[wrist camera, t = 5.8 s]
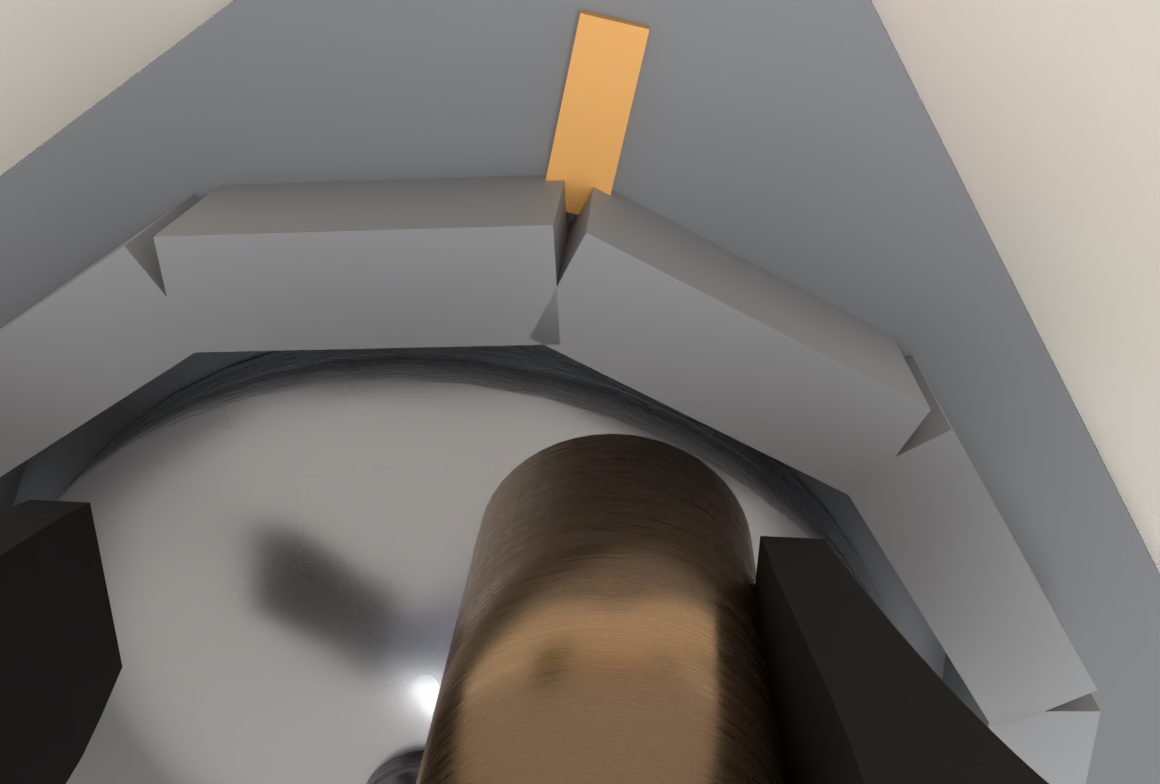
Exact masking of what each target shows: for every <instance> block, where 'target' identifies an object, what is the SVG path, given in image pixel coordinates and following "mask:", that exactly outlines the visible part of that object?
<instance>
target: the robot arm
mask: <svg viewBox="0 0 1160 784" xmlns="http://www.w3.org/2000/svg"><path fill="white" fill-rule="evenodd" d="M755 587H756V594H757V601H758V607H759V614H760V621H761V628H762V634H763V641H764V648H765V654H766V659H767V664H768V669H769V674H770V679H771V684H772V689H773V695H774V700H775V705H776V710H777V715H778V721H779V727H780V733H781V739H782V745H783V751H784V758H785V764H786V770H787V776H788V782H789V784H1049V783H1048V782H1047V781H1045V780H1044V779H1043V778H1042V777H1041V776H1039V775H1038V774H1037V773H1036V772H1035V771H1034V770H1033V769H1032V768H1031V767H1029V766H1028V765H1027V764H1026V763H1025V762H1024V761H1023V760H1022V759H1021V758H1020V757H1018V756H1017V755H1016V754H1015V753H1014V752H1013V751H1012V750H1011V749H1010V748H1009V747H1008V746H1007V745H1006V744H1005V743H1004V742H1003V741H1002V740H1001V739H1000V738H999V737H997V736H996V735H995V734H994V733H993V732H992V731H991V730H990V729H989V728H988V727H987V726H986V725H985V724H984V723H983V722H982V721H981V720H980V719H979V718H978V717H977V716H976V715H975V714H974V713H973V712H972V711H971V710H970V709H969V708H968V707H967V706H966V705H965V704H964V703H963V702H962V701H961V700H960V699H959V698H958V697H957V695H956V694H955V693H954V692H953V691H952V690H951V689H950V688H949V687H948V686H947V685H946V684H945V683H944V681H943V680H942V679H941V678H940V677H939V676H938V675H937V674H936V672H935V671H934V670H933V669H932V668H931V667H930V666H929V665H928V664H927V662H926V661H925V660H924V659H923V658H922V657H921V656H920V655H919V653H918V652H917V651H916V650H915V649H914V648H913V647H912V646H911V644H910V643H909V642H908V641H907V640H906V639H905V638H904V636H903V635H902V634H901V633H900V632H899V630H898V629H897V628H896V627H895V626H894V625H893V623H892V622H891V621H890V620H889V619H888V617H887V616H886V615H885V614H884V612H883V611H882V610H881V609H880V608H879V606H878V605H877V604H876V603H875V601H874V600H873V599H872V598H871V597H870V595H869V594H868V593H867V592H866V590H865V589H864V588H863V587H862V585H861V584H860V583H859V582H858V580H857V579H856V578H855V576H854V575H853V574H852V573H851V571H850V570H849V569H848V568H847V566H846V565H845V564H844V563H843V561H842V560H841V559H840V557H839V556H838V555H837V554H836V553H835V551H834V550H833V549H832V548H831V547H830V546H829V544H828V543H827V542H826V541H825V540H824V539H814V538H794V537H773V536H760V544H759V553H758V562H757V571H756V580H755ZM121 669H122V662H121V657H120V652H119V647H118V642H117V636H116V631H115V626H114V621H113V616H112V611H111V606H110V601H109V596H108V591H107V586H106V581H105V576H104V571H103V565H102V560H101V555H100V550H99V545H98V540H97V535H96V530H95V525H94V520H93V515H92V510H91V505H90V503H89V502H69V501H48V500H28V501H26V502H23V503H21V504H18V505H16V506H13V507H10V508H8V509H6V510H3V511H1V512H0V784H66V783H67V781H68V779H69V778H70V776H71V774H72V773H73V771H74V769H75V768H76V766H77V764H78V763H79V761H80V759H81V758H82V756H83V754H84V752H85V750H86V748H87V745H88V743H89V741H90V739H91V737H92V735H93V733H94V731H95V729H96V726H97V724H98V722H99V720H100V718H101V716H102V714H103V711H104V709H105V707H106V704H107V702H108V700H109V697H110V695H111V692H112V690H113V688H114V685H115V683H116V681H117V678H118V676H119V674H120V671H121Z"/></svg>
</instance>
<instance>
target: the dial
mask: <svg viewBox="0 0 1160 784" xmlns="http://www.w3.org/2000/svg"><path fill="white" fill-rule="evenodd" d="M55 501H69V502H89V503H90V505H91V510H92V515H93V520H94V525H95V530H96V535H97V540H98V545H99V550H100V555H101V560H102V565H103V571H104V576H105V581H106V586H107V591H108V596H109V601H110V606H111V611H112V616H113V621H114V626H115V631H116V636H117V642H118V647H119V652H120V657H121V662H122V669H121V671H120V674H119V676H118V678H117V681H116V683H115V685H114V688H113V690H112V692H111V695H110V697H109V700H108V702H107V704H106V707H105V709H104V711H103V714H102V716H101V718H100V720H99V722H98V724H97V726H96V729H95V731H94V733H93V735H92V737H91V739H90V741H89V743H88V745H87V748H86V750H85V752H84V754H83V756H82V758H81V759H80V761H79V763H78V764H77V766H76V768H75V769H74V771H73V773H72V774H71V776H70V778H69V779H68V781H67V783H66V784H789V782H788V776H787V770H786V764H785V758H784V751H783V745H782V739H781V733H780V727H779V721H778V715H777V710H776V705H775V700H774V695H773V689H772V684H771V679H770V674H769V669H768V664H767V659H766V654H765V648H764V641H763V634H762V628H761V621H760V614H759V607H758V601H757V594H756V587H755V580H756V571H757V562H758V553H759V544H760V536H773V537H794V538H814V539H824V540H825V541H826V542H827V543H828V544H829V546H830V547H831V548H832V549H833V550H834V551H835V553H836V554H837V555H838V556H839V557H840V559H841V560H842V561H843V563H844V564H845V565H846V566H847V568H848V569H849V570H850V571H851V573H852V574H853V575H854V576H855V578H856V579H857V580H858V582H859V583H860V584H861V585H862V587H863V588H864V589H865V590H866V592H867V593H868V594H869V595H870V597H871V598H872V599H873V600H874V601H875V603H876V604H877V605H878V606H879V608H880V609H881V610H882V611H883V612H884V614H885V610H884V607H883V604H882V602H881V600H880V598H879V596H878V594H877V592H876V590H875V588H874V586H873V584H872V582H871V580H870V578H869V576H868V574H867V572H866V570H865V568H864V566H863V564H862V562H861V560H860V558H859V556H858V555H857V553H856V552H855V550H854V549H853V548H852V546H851V545H850V543H849V542H848V540H847V539H846V538H845V536H844V535H843V533H842V532H841V531H840V529H839V528H838V526H837V525H836V524H835V522H834V521H833V519H832V518H831V516H830V515H829V514H828V512H827V511H826V510H825V509H824V508H823V507H822V506H821V505H820V504H819V502H818V501H817V500H816V499H815V498H814V497H813V496H812V495H811V494H810V493H809V492H808V491H807V490H806V489H805V488H804V487H803V486H802V485H801V484H800V483H799V482H798V480H797V479H796V478H795V477H794V476H793V475H792V474H791V473H790V472H789V471H788V470H787V469H786V468H785V467H784V466H782V465H781V464H780V463H779V462H777V461H776V460H775V459H774V458H772V457H770V456H768V455H766V454H764V453H762V452H760V451H758V450H756V449H754V448H752V447H750V446H748V445H746V444H744V443H742V442H740V441H738V440H736V439H734V438H732V437H730V436H728V435H726V434H724V433H722V432H720V431H718V430H716V429H714V428H712V427H710V426H708V425H706V424H704V423H701V422H699V421H697V420H695V419H693V418H691V417H689V416H687V415H685V414H683V413H681V412H679V411H677V410H675V409H673V408H671V407H669V406H667V405H665V404H663V403H661V402H659V401H657V400H655V399H653V398H651V397H649V396H647V395H645V394H643V393H641V392H639V391H637V390H635V389H632V388H630V387H628V386H626V385H624V384H622V383H620V382H618V381H616V380H614V379H612V378H610V377H608V376H606V375H604V374H602V373H600V372H598V371H596V370H594V369H592V368H590V367H588V366H586V365H584V364H582V363H580V362H578V361H576V360H574V359H572V358H570V357H568V356H566V355H564V354H561V353H559V352H557V351H555V350H553V349H551V348H549V347H544V346H538V345H513V346H467V347H421V348H375V349H329V350H283V351H277V352H274V353H271V354H268V355H265V356H262V357H259V358H256V359H253V360H250V361H247V362H244V363H241V364H238V365H235V366H232V367H229V368H226V369H224V370H222V371H220V372H218V373H216V374H214V375H212V376H210V377H208V378H206V379H204V380H202V381H200V382H198V383H196V384H194V385H192V386H190V387H188V388H186V389H184V390H182V391H180V392H178V393H176V394H174V395H172V396H170V397H169V398H167V399H166V400H164V401H163V402H162V403H160V404H159V405H157V406H156V407H155V408H153V409H152V410H150V411H149V412H148V413H146V414H145V415H143V416H142V417H140V418H139V419H138V420H136V421H135V422H133V423H132V424H131V425H129V426H128V427H126V428H125V429H124V430H123V431H122V432H121V433H120V434H119V435H118V436H117V437H116V438H115V439H114V440H113V441H112V442H111V443H110V444H109V445H108V446H107V447H106V448H105V449H104V450H102V451H101V452H100V453H99V454H98V455H97V456H96V457H95V458H94V459H93V460H92V461H91V462H90V463H89V464H88V465H87V466H86V467H85V468H84V469H83V471H82V472H81V473H80V474H79V475H78V476H77V477H76V478H75V479H74V480H73V481H72V483H71V484H70V485H69V486H68V487H67V488H66V489H65V490H64V491H63V492H62V493H61V495H60V496H59V497H58V498H57V499H56V500H55ZM885 615H886V614H885Z"/></svg>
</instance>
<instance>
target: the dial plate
mask: <svg viewBox="0 0 1160 784" xmlns="http://www.w3.org/2000/svg"><path fill="white" fill-rule="evenodd" d="M513 345H538V346H544V347H549V348H551V349H553V350H555V351H557V352H559V353H561V354H564V355H566V356H568V357H570V358H572V359H574V360H576V361H578V362H580V363H582V364H584V365H586V366H588V367H590V368H592V369H594V370H596V371H598V372H600V373H602V374H604V375H606V376H608V377H610V378H612V379H614V380H616V381H618V382H620V383H622V384H624V385H626V386H628V387H630V388H632V389H635V390H637V391H639V392H641V393H643V394H645V395H647V396H649V397H651V398H653V399H655V400H657V401H659V402H661V403H663V404H665V405H667V406H669V407H671V408H673V409H675V410H677V411H679V412H681V413H683V414H685V415H687V416H689V417H691V418H693V419H695V420H697V421H699V422H701V423H704V424H706V425H708V426H710V427H712V428H714V429H716V430H718V431H720V432H722V433H724V434H726V435H728V436H730V437H732V438H734V439H736V440H738V441H740V442H742V443H744V444H746V445H748V446H750V447H752V448H754V449H756V450H758V451H760V452H762V453H764V454H766V455H768V456H770V457H772V458H774V459H775V460H776V461H777V462H779V463H780V464H781V465H782V466H784V467H785V468H786V469H787V470H788V471H789V472H790V473H791V474H792V475H793V476H794V477H795V478H796V479H797V480H798V482H799V483H800V484H801V485H802V486H803V487H804V488H805V489H806V490H807V491H808V492H809V493H810V494H811V495H812V496H813V497H814V498H815V499H816V500H817V501H818V502H819V504H820V505H821V506H822V507H823V508H824V509H825V510H826V511H827V512H828V514H829V515H830V516H831V518H832V519H833V521H834V522H835V524H836V525H837V526H838V528H839V529H840V531H841V532H842V533H843V535H844V536H845V538H846V539H847V540H848V542H849V543H850V545H851V546H852V548H853V549H854V550H855V552H856V553H857V555H858V556H859V558H860V560H861V562H862V564H863V566H864V568H865V570H866V572H867V574H868V576H869V578H870V580H871V582H872V584H873V586H874V588H875V590H876V592H877V594H878V596H879V598H880V600H881V602H882V604H883V607H884V610H885V614H886V616H887V617H888V619H889V620H890V621H891V622H892V623H893V625H894V626H895V627H896V628H897V629H898V630H899V632H900V633H901V634H902V635H903V636H904V638H905V639H906V640H907V641H908V642H909V643H910V644H911V646H912V647H913V648H914V649H915V650H916V651H917V652H918V653H919V655H920V656H921V657H922V658H923V659H924V660H925V661H926V662H927V664H928V665H929V666H930V667H931V668H932V669H933V670H934V671H935V672H936V674H937V675H938V676H939V677H940V678H941V679H942V680H943V681H944V683H945V684H946V685H947V686H948V687H949V688H950V689H951V690H952V691H953V692H954V693H955V694H956V695H957V697H958V698H959V699H960V700H961V701H962V702H963V703H964V704H965V705H966V706H967V707H968V708H969V709H970V710H971V711H972V712H973V713H974V714H975V715H976V716H977V717H978V718H979V719H980V720H981V721H982V722H983V723H984V724H985V725H986V726H987V727H988V728H989V729H990V730H991V731H992V732H993V733H994V734H995V735H996V736H997V737H999V738H1000V739H1001V740H1002V741H1003V742H1004V743H1005V744H1006V745H1007V746H1008V747H1009V748H1010V749H1011V750H1012V751H1013V752H1014V753H1015V754H1016V755H1017V756H1018V757H1020V758H1021V759H1022V760H1023V761H1024V762H1025V763H1026V764H1027V765H1028V766H1029V767H1031V768H1032V769H1033V770H1034V771H1035V772H1036V773H1037V774H1038V775H1039V776H1041V777H1042V778H1043V779H1044V780H1045V781H1047V782H1048V783H1049V784H1160V573H1159V571H1158V569H1157V567H1156V565H1155V563H1154V561H1153V559H1152V557H1151V555H1150V554H1149V552H1148V550H1147V548H1146V546H1145V544H1144V542H1143V540H1142V538H1141V536H1140V534H1139V532H1138V530H1137V528H1136V526H1135V524H1134V522H1133V520H1132V518H1131V516H1130V514H1129V512H1128V510H1127V508H1126V506H1125V504H1124V502H1123V500H1122V498H1121V496H1120V494H1119V492H1118V490H1117V488H1116V486H1115V484H1114V482H1113V480H1112V478H1111V476H1110V474H1109V472H1108V470H1107V468H1106V466H1105V464H1104V462H1103V460H1102V458H1101V456H1100V454H1099V452H1098V450H1097V448H1096V446H1095V444H1094V442H1093V440H1092V438H1091V436H1090V434H1089V432H1088V430H1087V428H1086V426H1085V424H1084V422H1083V420H1082V418H1081V416H1080V414H1079V412H1078V410H1077V409H1076V407H1075V405H1074V403H1073V401H1072V399H1071V397H1070V395H1069V393H1068V391H1067V389H1066V387H1065V385H1064V383H1063V381H1062V379H1061V377H1060V375H1059V373H1058V371H1057V369H1056V367H1055V365H1054V363H1053V361H1052V359H1051V357H1050V355H1049V353H1048V351H1047V349H1046V347H1045V345H1044V343H1043V341H1042V339H1041V337H1040V335H1039V333H1038V331H1037V329H1036V327H1035V325H1034V323H1033V321H1032V319H1031V317H1030V315H1029V313H1028V311H1027V309H1026V307H1025V305H1024V303H1023V301H1022V299H1021V297H1020V295H1019V293H1018V291H1017V289H1016V287H1015V285H1014V283H1013V281H1012V279H1011V277H1010V275H1009V273H1008V271H1007V269H1006V267H1005V265H1004V264H1003V262H1002V260H1001V258H1000V256H999V254H998V252H997V250H996V248H995V246H994V244H993V242H992V240H991V238H990V236H989V234H988V232H987V230H986V228H985V226H984V224H983V222H982V220H981V218H980V216H979V214H978V212H977V210H976V208H975V206H974V204H973V202H972V200H971V198H970V196H969V194H968V192H967V190H966V188H965V186H964V184H963V182H962V180H961V178H960V176H959V174H958V172H957V170H956V168H955V166H954V164H953V162H952V160H951V158H950V156H949V154H948V152H947V150H946V148H945V146H944V144H943V142H942V140H941V138H940V136H939V134H938V132H937V130H936V128H935V126H934V124H933V122H932V120H931V119H930V117H929V115H928V113H927V111H926V109H925V107H924V105H923V103H922V101H921V99H920V97H919V95H918V93H917V91H916V89H915V87H914V85H913V83H912V81H911V79H910V77H909V75H908V73H907V71H906V69H905V67H904V65H903V63H902V61H901V59H900V57H899V55H898V53H897V51H896V49H895V47H894V45H893V43H892V41H891V39H890V37H889V35H888V33H887V31H886V29H885V27H884V25H883V23H882V21H881V19H880V17H879V15H878V13H877V11H876V9H875V7H874V5H873V3H872V1H871V0H234V1H233V2H232V3H230V4H229V5H228V6H226V7H225V8H224V9H222V10H221V11H220V12H218V13H217V14H216V15H214V16H213V17H212V18H210V19H209V20H208V21H206V22H205V23H204V24H202V25H201V26H200V27H198V28H197V29H196V30H194V31H193V32H192V33H190V34H189V35H188V36H186V37H185V38H184V39H182V40H181V41H180V42H178V43H177V44H176V45H174V46H173V47H172V48H170V49H169V50H168V51H166V52H165V53H164V54H162V55H161V56H160V57H158V58H157V59H156V60H154V61H153V62H152V63H150V64H149V65H148V66H146V67H145V68H144V69H142V70H141V71H140V72H138V73H137V74H136V75H134V76H133V77H132V78H130V79H129V80H128V81H126V82H125V83H124V84H122V85H121V86H120V87H118V88H117V89H116V90H114V91H113V92H112V93H110V94H109V95H108V96H106V97H105V98H104V99H102V100H101V101H100V102H98V103H97V104H96V105H94V106H93V107H92V108H90V109H89V110H88V111H87V112H85V113H84V114H83V115H81V116H80V117H79V118H77V119H76V120H75V121H73V122H72V123H71V124H69V125H68V126H67V127H65V128H64V129H63V130H61V131H60V132H59V133H57V134H56V135H55V136H53V137H52V138H51V139H49V140H48V141H47V142H45V143H44V144H43V145H41V146H40V147H39V148H37V149H36V150H35V151H33V152H32V153H31V154H29V155H28V156H27V157H25V158H24V159H23V160H21V161H20V162H19V163H17V164H16V165H15V166H13V167H12V168H11V169H9V170H8V171H7V172H5V173H4V174H3V175H1V176H0V512H1V511H3V510H6V509H8V508H10V507H13V506H16V505H18V504H21V503H23V502H26V501H28V500H48V501H55V500H56V499H57V498H58V497H59V496H60V495H61V493H62V492H63V491H64V490H65V489H66V488H67V487H68V486H69V485H70V484H71V483H72V481H73V480H74V479H75V478H76V477H77V476H78V475H79V474H80V473H81V472H82V471H83V469H84V468H85V467H86V466H87V465H88V464H89V463H90V462H91V461H92V460H93V459H94V458H95V457H96V456H97V455H98V454H99V453H100V452H101V451H102V450H104V449H105V448H106V447H107V446H108V445H109V444H110V443H111V442H112V441H113V440H114V439H115V438H116V437H117V436H118V435H119V434H120V433H121V432H122V431H123V430H124V429H125V428H126V427H128V426H129V425H131V424H132V423H133V422H135V421H136V420H138V419H139V418H140V417H142V416H143V415H145V414H146V413H148V412H149V411H150V410H152V409H153V408H155V407H156V406H157V405H159V404H160V403H162V402H163V401H164V400H166V399H167V398H169V397H170V396H172V395H174V394H176V393H178V392H180V391H182V390H184V389H186V388H188V387H190V386H192V385H194V384H196V383H198V382H200V381H202V380H204V379H206V378H208V377H210V376H212V375H214V374H216V373H218V372H220V371H222V370H224V369H226V368H229V367H232V366H235V365H238V364H241V363H244V362H247V361H250V360H253V359H256V358H259V357H262V356H265V355H268V354H271V353H274V352H277V351H283V350H329V349H375V348H421V347H467V346H513Z"/></svg>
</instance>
